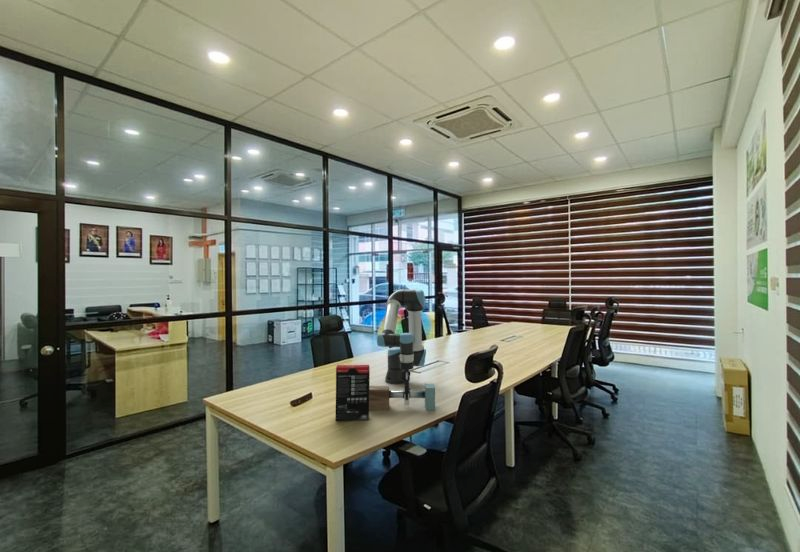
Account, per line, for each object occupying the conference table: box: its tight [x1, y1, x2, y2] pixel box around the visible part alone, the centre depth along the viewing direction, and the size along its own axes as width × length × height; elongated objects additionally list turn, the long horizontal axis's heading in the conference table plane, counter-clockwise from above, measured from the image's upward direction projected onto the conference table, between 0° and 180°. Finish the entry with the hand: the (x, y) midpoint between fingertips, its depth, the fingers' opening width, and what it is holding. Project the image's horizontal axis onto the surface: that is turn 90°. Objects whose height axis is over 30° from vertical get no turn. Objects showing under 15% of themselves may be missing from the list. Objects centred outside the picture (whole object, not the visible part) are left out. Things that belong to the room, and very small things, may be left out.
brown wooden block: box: [369, 385, 390, 411], centre depth 201 cm, size 7×12×11 cm, turn 90°
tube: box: [389, 389, 425, 399], centre depth 201 cm, size 26×4×4 cm, turn 90°
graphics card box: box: [335, 364, 371, 422], centre depth 185 cm, size 17×7×27 cm, turn 96°
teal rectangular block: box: [424, 383, 436, 411], centre depth 201 cm, size 8×5×12 cm, turn 0°
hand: (406, 403), depth 201 cm, fingers closed on tube, 4 cm apart
